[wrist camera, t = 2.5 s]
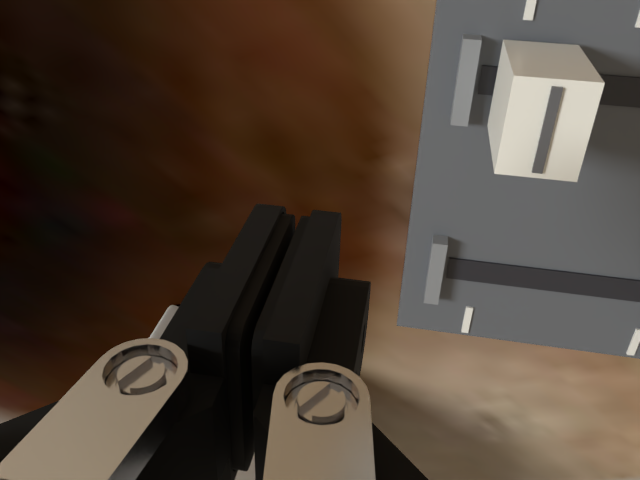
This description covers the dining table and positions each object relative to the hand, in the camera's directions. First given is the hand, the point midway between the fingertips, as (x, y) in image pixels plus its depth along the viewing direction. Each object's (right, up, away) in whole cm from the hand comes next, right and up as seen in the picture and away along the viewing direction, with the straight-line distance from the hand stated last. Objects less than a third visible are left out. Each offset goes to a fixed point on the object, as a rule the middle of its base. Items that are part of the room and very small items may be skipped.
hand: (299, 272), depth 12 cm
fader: (+8, +6, +9) cm, 13 cm away
